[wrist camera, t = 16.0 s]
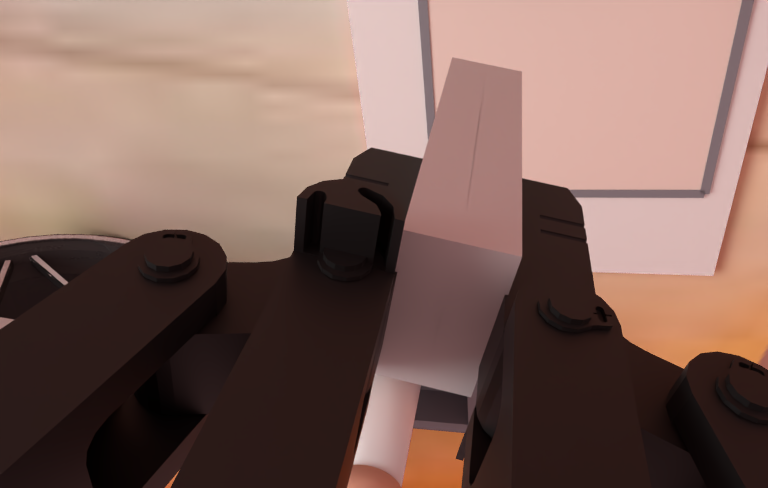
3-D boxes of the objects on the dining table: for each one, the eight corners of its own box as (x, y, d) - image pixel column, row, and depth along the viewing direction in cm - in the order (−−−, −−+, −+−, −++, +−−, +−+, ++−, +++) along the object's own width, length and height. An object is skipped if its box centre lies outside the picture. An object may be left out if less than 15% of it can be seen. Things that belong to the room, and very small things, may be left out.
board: (309, -302, 20) (303, -306, 20) (884, -414, 16) (895, -421, 16) (384, 260, 34) (382, 267, 33) (710, 269, 30) (714, 277, 29)
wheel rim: (309, 296, 36) (141, 665, 21) (288, 387, 42) (142, 733, 26) (4, 197, 37) (-398, 485, 21) (23, 300, 42) (-284, 591, 26)
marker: (373, 321, 36) (317, 499, 26) (428, 325, 35) (391, 508, 26) (378, 362, 38) (328, 541, 28) (431, 365, 37) (397, 551, 27)
